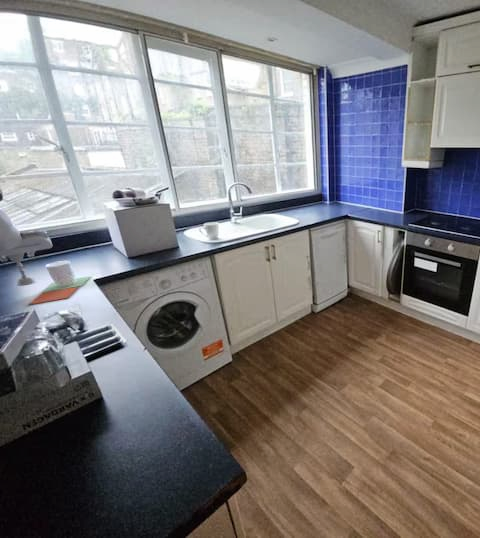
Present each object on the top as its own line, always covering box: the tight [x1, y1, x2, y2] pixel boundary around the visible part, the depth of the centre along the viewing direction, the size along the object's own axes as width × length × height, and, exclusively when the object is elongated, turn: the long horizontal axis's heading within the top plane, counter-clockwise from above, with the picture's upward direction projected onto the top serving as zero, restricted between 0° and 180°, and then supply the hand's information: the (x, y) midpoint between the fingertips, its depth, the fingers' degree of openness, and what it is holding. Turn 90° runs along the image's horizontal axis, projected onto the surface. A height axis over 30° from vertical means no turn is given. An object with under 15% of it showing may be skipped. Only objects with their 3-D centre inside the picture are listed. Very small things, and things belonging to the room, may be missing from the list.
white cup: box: [44, 259, 77, 287], centre depth 131 cm, size 8×8×10 cm
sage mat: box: [42, 276, 90, 293], centre depth 133 cm, size 13×11×1 cm
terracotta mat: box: [28, 287, 79, 306], centre depth 123 cm, size 12×11×1 cm
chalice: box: [6, 253, 37, 287], centre depth 105 cm, size 7×7×18 cm
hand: (18, 257), depth 105 cm, fingers closed on chalice, 5 cm apart
